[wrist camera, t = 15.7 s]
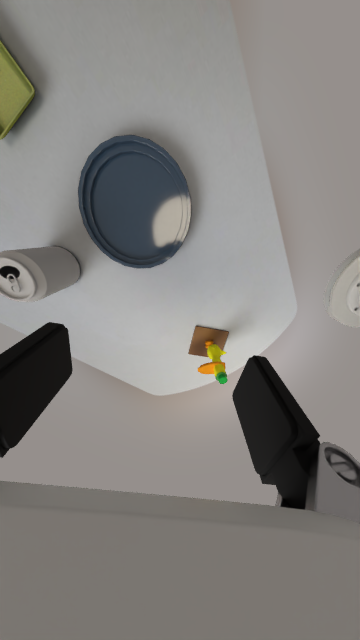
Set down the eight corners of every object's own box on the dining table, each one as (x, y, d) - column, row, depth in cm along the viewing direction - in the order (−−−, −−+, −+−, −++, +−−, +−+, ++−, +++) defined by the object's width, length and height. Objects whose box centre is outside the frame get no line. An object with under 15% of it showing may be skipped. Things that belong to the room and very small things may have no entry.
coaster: (228, 331, 41) (229, 332, 40) (218, 357, 44) (219, 358, 44) (195, 325, 40) (195, 326, 40) (188, 353, 44) (188, 354, 43)
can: (72, 242, 33) (19, 247, 22) (88, 282, 36) (48, 302, 25) (35, 249, 33) (-34, 256, 22) (54, 287, 36) (1, 309, 26)
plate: (201, 158, 27) (203, 152, 25) (179, 274, 35) (179, 276, 33) (82, 128, 26) (73, 119, 24) (87, 256, 34) (81, 257, 32)
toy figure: (195, 351, 43) (200, 390, 32) (193, 339, 41) (198, 376, 31) (223, 347, 42) (237, 386, 32) (222, 335, 41) (236, 371, 30)
